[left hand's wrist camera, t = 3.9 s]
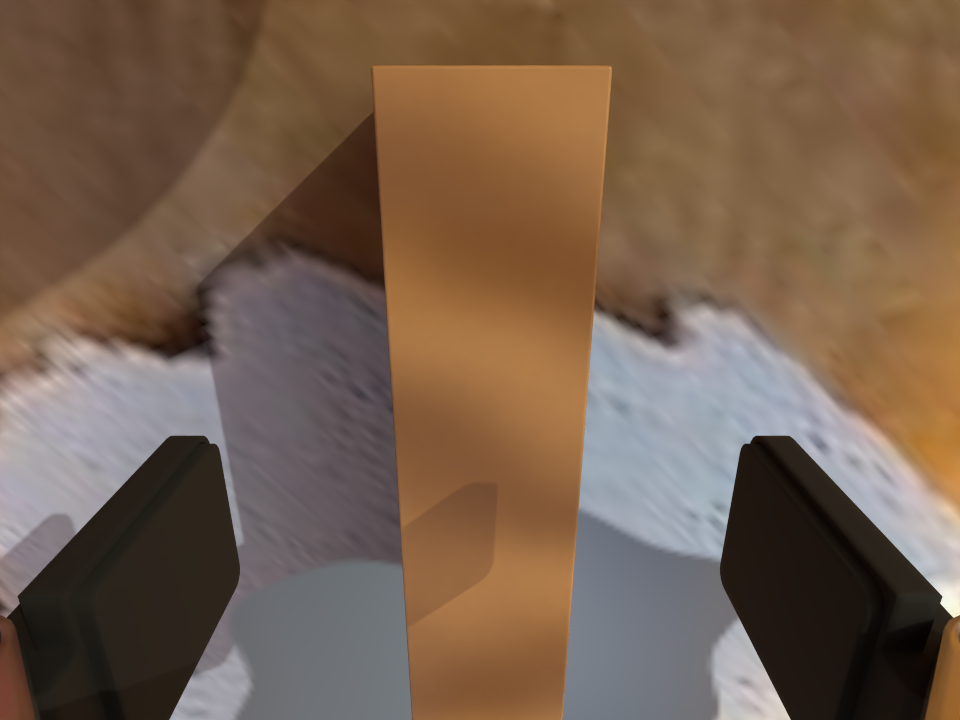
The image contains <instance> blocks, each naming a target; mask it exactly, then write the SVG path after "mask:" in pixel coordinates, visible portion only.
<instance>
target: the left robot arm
mask: <svg viewBox="0 0 960 720" xmlns="http://www.w3.org/2000/svg"><path fill="white" fill-rule="evenodd" d="M239 575H240V564H239V558H238V553H237V547H236V541H235V536H234V530H233V524H232V519H231V513H230V507H229V502H228V496H227V490H226V484H225V479H224V473H223V467H222V462H221V456H220V451H219V448H218V446H217V445H216V444H210V443H209V441H208V439H207V438H206V437H205V436H170V437H169V438H167V439H166V440H165V441H164V442H163V443H162V444H161V445H160V446H159V448H158V449H157V450H156V451H155V452H154V453H153V454H152V455H151V456H150V457H149V458H148V459H147V460H146V461H145V462H144V463H143V464H142V466H141V467H140V468H139V469H138V470H137V471H136V472H135V473H134V474H133V475H132V476H131V477H130V478H129V479H128V480H127V481H126V482H125V484H124V485H123V486H122V487H121V488H120V489H119V490H118V491H117V492H116V493H115V494H114V495H113V496H112V497H111V498H110V499H109V500H108V501H107V503H106V504H105V505H104V506H103V507H102V508H101V509H100V510H99V511H98V512H97V513H96V514H95V515H94V516H93V517H92V518H91V519H90V521H89V522H88V523H87V524H86V525H85V526H84V527H83V528H82V529H81V530H80V531H79V532H78V533H77V534H76V535H75V536H74V537H73V538H72V540H71V541H70V542H69V543H68V544H67V545H66V546H65V547H64V548H63V549H62V550H61V551H60V552H59V553H58V554H57V555H56V556H55V558H54V559H53V560H52V561H51V562H50V563H49V564H48V565H47V566H46V567H45V568H44V569H43V570H42V571H41V572H40V573H39V574H38V575H37V577H36V578H35V579H34V580H33V581H32V582H31V583H30V584H29V585H28V586H27V587H26V588H25V589H24V590H23V591H22V592H21V593H20V595H19V596H18V599H19V602H20V604H19V605H18V606H17V607H16V608H15V609H14V611H13V612H12V613H11V614H10V615H9V616H8V617H7V618H5V617H3V616H1V615H0V720H169V719H170V717H171V715H172V713H173V711H174V709H175V707H176V705H177V703H178V701H179V699H180V697H181V695H182V693H183V691H184V689H185V687H186V685H187V684H188V682H189V680H190V678H191V676H192V674H193V672H194V670H195V668H196V666H197V664H198V662H199V660H200V658H201V656H202V654H203V652H204V650H205V648H206V646H207V644H208V642H209V640H210V638H211V636H212V634H213V632H214V630H215V628H216V626H217V624H218V622H219V621H220V619H221V617H222V615H223V613H224V611H225V609H226V607H227V605H228V603H229V601H230V599H231V597H232V595H233V593H234V591H235V589H236V587H237V584H238V581H239ZM720 575H721V581H722V584H723V587H724V589H725V591H726V593H727V595H728V597H729V599H730V601H731V603H732V605H733V607H734V609H735V611H736V613H737V615H738V617H739V619H740V621H741V622H742V624H743V626H744V628H745V630H746V632H747V634H748V636H749V638H750V640H751V642H752V644H753V646H754V648H755V650H756V652H757V654H758V656H759V658H760V660H761V662H762V664H763V666H764V668H765V670H766V672H767V674H768V676H769V678H770V680H771V682H772V684H773V685H774V687H775V689H776V691H777V693H778V695H779V697H780V699H781V701H782V703H783V705H784V707H785V709H786V711H787V713H788V715H789V717H790V719H791V720H960V615H959V616H957V617H955V618H953V617H952V616H951V615H950V614H949V613H948V612H947V611H946V609H945V608H944V607H943V606H942V605H941V604H940V602H941V599H942V596H941V595H940V593H939V592H938V591H937V590H936V589H935V588H934V587H933V586H932V585H931V584H930V583H929V582H928V581H927V580H926V579H925V578H924V577H923V575H922V574H921V573H920V572H919V571H918V570H917V569H916V568H915V567H914V566H913V565H912V564H911V563H910V562H909V561H908V560H907V559H906V558H905V556H904V555H903V554H902V553H901V552H900V551H899V550H898V549H897V548H896V547H895V546H894V545H893V544H892V543H891V542H890V541H889V540H888V538H887V537H886V536H885V535H884V534H883V533H882V532H881V531H880V530H879V529H878V528H877V527H876V526H875V525H874V524H873V523H872V522H871V521H870V519H869V518H868V517H867V516H866V515H865V514H864V513H863V512H862V511H861V510H860V509H859V508H858V507H857V506H856V505H855V504H854V503H853V501H852V500H851V499H850V498H849V497H848V496H847V495H846V494H845V493H844V492H843V491H842V490H841V489H840V488H839V487H838V486H837V485H836V484H835V482H834V481H833V480H832V479H831V478H830V477H829V476H828V475H827V474H826V473H825V472H824V471H823V470H822V469H821V468H820V467H819V466H818V464H817V463H816V462H815V461H814V460H813V459H812V458H811V457H810V456H809V455H808V454H807V453H806V452H805V451H804V450H803V449H802V448H801V447H800V445H799V444H798V443H797V442H796V441H795V440H794V439H793V438H791V437H790V436H755V437H754V438H753V439H752V441H751V443H750V444H744V445H743V446H742V448H741V451H740V456H739V462H738V467H737V473H736V479H735V484H734V490H733V496H732V502H731V507H730V513H729V519H728V524H727V530H726V536H725V541H724V547H723V553H722V558H721V564H720Z"/></svg>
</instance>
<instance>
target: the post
mask: <svg viewBox="0 0 960 720" xmlns="http://www.w3.org/2000/svg"><path fill="white" fill-rule="evenodd" d="M371 75H372V91H373V106H374V122H375V138H376V154H377V170H378V186H379V201H380V217H381V233H382V249H383V265H384V280H385V296H386V312H387V328H388V344H389V359H390V375H391V391H392V407H393V423H394V439H395V454H396V470H397V486H398V502H399V518H400V533H401V549H402V565H403V580H404V596H405V612H406V628H407V644H408V660H409V676H410V692H411V707H412V720H562V718H563V705H564V691H565V679H566V666H567V652H568V639H569V626H570V613H571V600H572V587H573V574H574V561H575V548H576V535H577V522H578V509H579V496H580V483H581V470H582V457H583V444H584V431H585V418H586V404H587V391H588V378H589V365H590V352H591V339H592V326H593V313H594V300H595V287H596V274H597V261H598V248H599V235H600V222H601V209H602V196H603V183H604V170H605V156H606V143H607V130H608V117H609V104H610V91H611V78H612V67H611V66H609V65H374V66H372V68H371Z"/></svg>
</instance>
